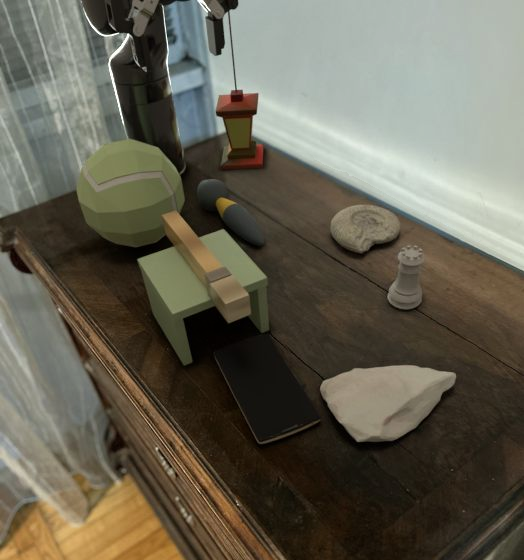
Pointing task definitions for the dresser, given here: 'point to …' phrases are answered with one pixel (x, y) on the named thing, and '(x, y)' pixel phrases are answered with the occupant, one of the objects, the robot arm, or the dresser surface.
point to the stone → (384, 399)
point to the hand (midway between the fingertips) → (182, 61)
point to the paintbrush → (229, 211)
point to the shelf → (198, 287)
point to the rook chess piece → (407, 280)
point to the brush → (208, 269)
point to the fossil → (364, 227)
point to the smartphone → (266, 389)
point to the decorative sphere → (129, 192)
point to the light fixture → (239, 126)
